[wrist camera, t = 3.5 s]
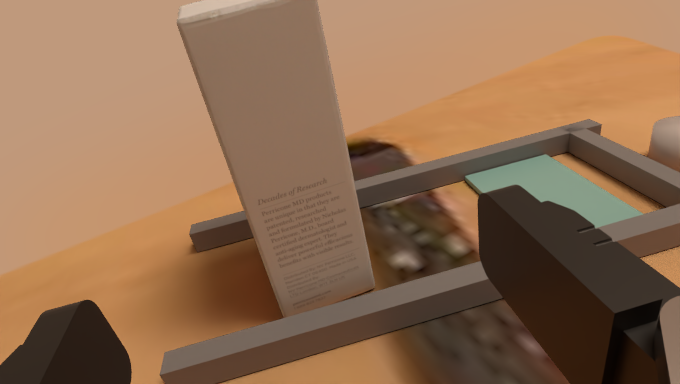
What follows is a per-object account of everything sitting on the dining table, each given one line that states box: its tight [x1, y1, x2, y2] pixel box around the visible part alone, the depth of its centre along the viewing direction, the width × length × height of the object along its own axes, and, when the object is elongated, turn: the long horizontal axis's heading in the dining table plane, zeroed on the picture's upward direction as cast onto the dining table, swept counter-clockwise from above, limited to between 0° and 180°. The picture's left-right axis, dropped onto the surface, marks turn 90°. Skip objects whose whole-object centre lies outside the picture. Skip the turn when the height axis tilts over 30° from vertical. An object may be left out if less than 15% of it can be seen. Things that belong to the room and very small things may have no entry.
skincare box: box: [177, 0, 375, 318], centre depth 17 cm, size 6×4×12 cm
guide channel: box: [160, 116, 680, 384], centre depth 20 cm, size 27×10×2 cm, turn 102°
